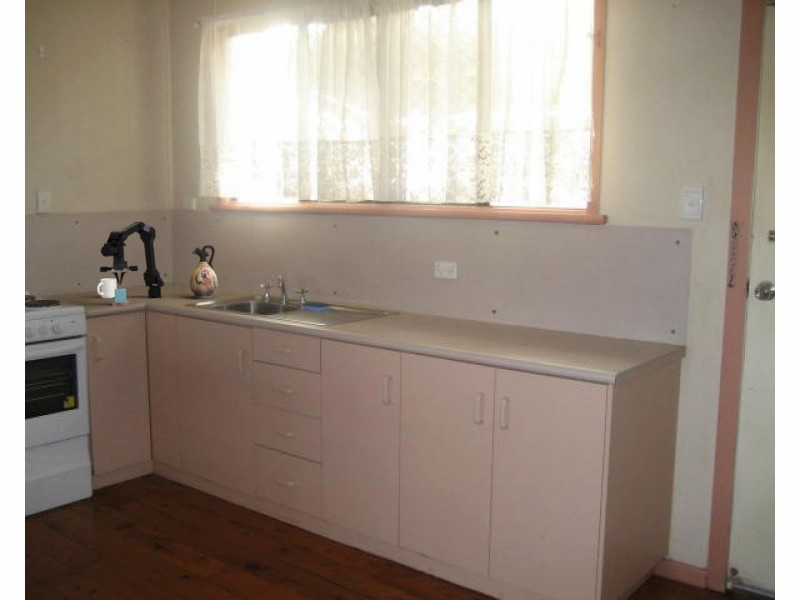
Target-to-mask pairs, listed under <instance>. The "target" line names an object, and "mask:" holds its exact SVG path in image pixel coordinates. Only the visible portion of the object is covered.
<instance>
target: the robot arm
mask: <svg viewBox="0 0 800 600" xmlns="http://www.w3.org/2000/svg"><path fill="white" fill-rule="evenodd" d="M135 233H137V234H138V235H139V237H140V240H141V241H142V243H143V248H144V256H145V257H144V258H145V265H146V270H145V272H143V273H142V274H143V280H144V283H145V287H148V289H147V297H148V298H150V299H153V298H152V297H160V298H162V287H164V285H165V281H164V280H163V279H162V278H161V274H160V272H159V271H158V269H157V265H156V255H155V248H154V242H155V240H156V238H157V237H156V234H157V233H156V229H155V228H154V227H153V226H150V225H149V224H146V223H145V222H143V221H134V222H133V223H131V224H128V225H127V226H126V227H124V228H122V229H116V230H112V231H111V232H110V233H109V236H108V237H107V238H108V239H107V241H106V243H103V246H102V247H101V248H100V253H101V255H102V256H103V257H106V258H107V257H112V266H109V265H101V266H100V267H99V272H100V273H108V271H111V274H113V275H114V276H115V279H116V282H117V284H118V285H119V286H121V285H122V282H123V279H124V276H125V274H128V271H131V272H138V271H139V266H138V265H137V264H130V265H129V266H128V260H125V259H126V258H125V247H127V244H126V243H125V242H126V241H127V239H128V237H129V236H131V235H133V234H135ZM119 271H120V275H119ZM119 276H120V278H119Z"/></svg>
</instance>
